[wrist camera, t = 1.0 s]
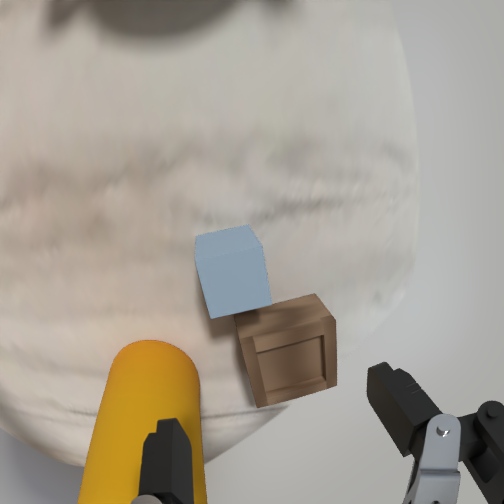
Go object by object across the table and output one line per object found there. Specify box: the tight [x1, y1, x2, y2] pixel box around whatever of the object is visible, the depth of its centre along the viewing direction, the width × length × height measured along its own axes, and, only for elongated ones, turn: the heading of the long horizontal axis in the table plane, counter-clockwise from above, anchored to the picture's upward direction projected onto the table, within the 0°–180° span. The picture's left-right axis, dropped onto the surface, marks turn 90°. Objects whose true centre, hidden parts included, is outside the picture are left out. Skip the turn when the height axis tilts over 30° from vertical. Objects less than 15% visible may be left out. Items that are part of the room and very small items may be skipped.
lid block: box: [195, 224, 272, 319], centre depth 24 cm, size 4×4×6 cm
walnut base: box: [234, 294, 337, 408], centre depth 28 cm, size 8×8×5 cm
